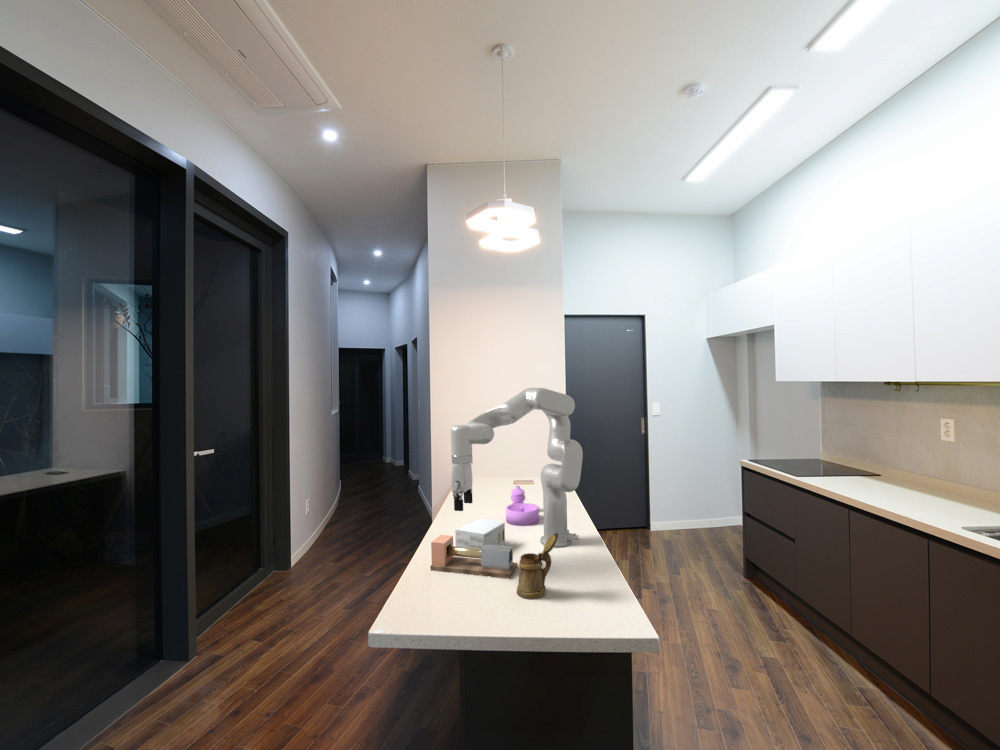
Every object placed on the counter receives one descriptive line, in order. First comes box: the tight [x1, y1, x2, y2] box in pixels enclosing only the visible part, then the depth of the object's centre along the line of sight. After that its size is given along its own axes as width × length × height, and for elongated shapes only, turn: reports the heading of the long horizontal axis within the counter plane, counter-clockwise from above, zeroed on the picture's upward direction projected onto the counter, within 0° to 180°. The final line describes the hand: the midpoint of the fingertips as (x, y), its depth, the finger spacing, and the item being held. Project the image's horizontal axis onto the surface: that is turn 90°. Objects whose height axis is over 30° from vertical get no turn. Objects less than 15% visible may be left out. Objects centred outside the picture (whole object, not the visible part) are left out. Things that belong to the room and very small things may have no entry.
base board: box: [430, 556, 518, 580], centre depth 164 cm, size 29×10×2 cm, turn 74°
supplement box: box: [454, 518, 506, 549], centre depth 184 cm, size 17×13×9 cm
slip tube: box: [447, 545, 481, 559], centre depth 165 cm, size 20×3×3 cm, turn 74°
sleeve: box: [481, 544, 514, 571], centre depth 162 cm, size 10×5×6 cm, turn 74°
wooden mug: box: [516, 533, 558, 600], centre depth 146 cm, size 9×14×18 cm, turn 98°
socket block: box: [430, 534, 454, 566], centre depth 168 cm, size 5×8×8 cm, turn 164°
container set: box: [505, 485, 540, 527], centre depth 223 cm, size 25×15×13 cm, turn 6°
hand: (463, 506), depth 168 cm, fingers open, 9 cm apart
